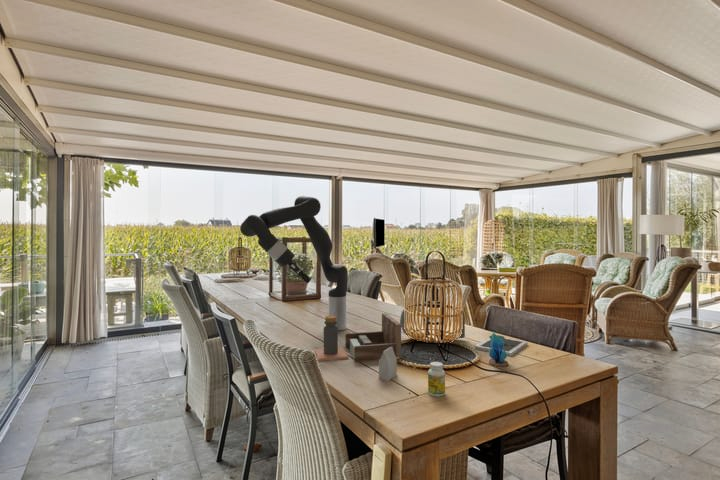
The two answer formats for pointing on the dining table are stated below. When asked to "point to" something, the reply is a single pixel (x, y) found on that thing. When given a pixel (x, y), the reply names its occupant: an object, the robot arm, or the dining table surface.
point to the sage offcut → (353, 344)
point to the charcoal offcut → (364, 340)
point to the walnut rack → (378, 340)
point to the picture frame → (509, 346)
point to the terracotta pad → (324, 357)
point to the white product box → (388, 365)
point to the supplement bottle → (436, 379)
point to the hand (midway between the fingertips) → (308, 280)
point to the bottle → (330, 336)
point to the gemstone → (497, 352)
